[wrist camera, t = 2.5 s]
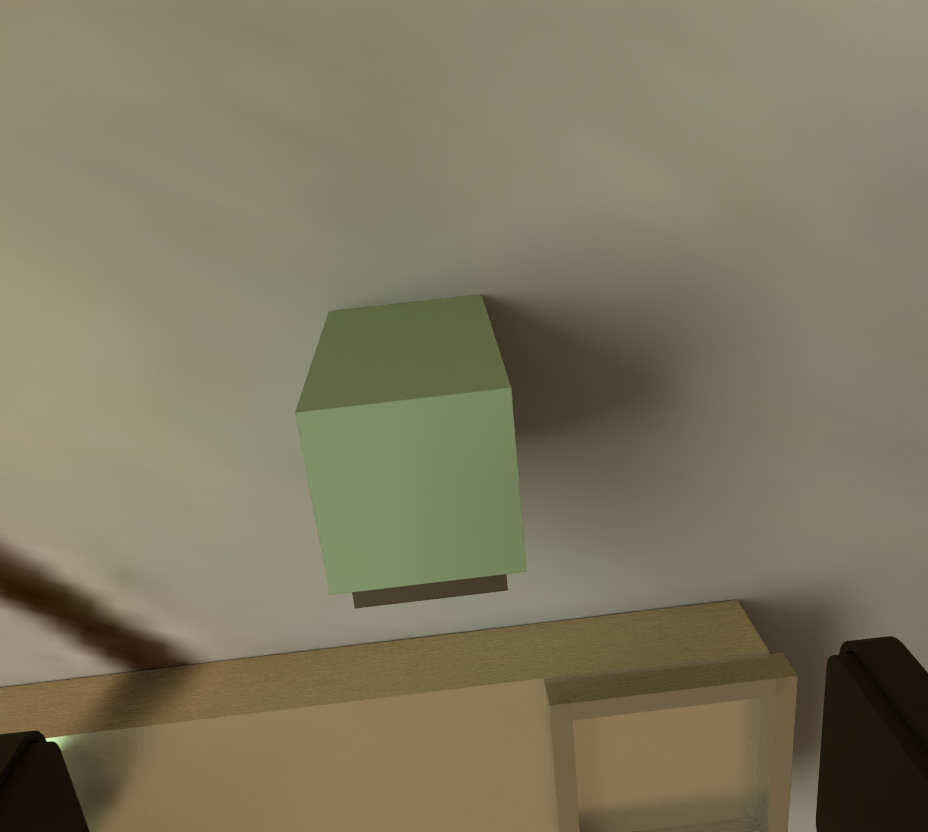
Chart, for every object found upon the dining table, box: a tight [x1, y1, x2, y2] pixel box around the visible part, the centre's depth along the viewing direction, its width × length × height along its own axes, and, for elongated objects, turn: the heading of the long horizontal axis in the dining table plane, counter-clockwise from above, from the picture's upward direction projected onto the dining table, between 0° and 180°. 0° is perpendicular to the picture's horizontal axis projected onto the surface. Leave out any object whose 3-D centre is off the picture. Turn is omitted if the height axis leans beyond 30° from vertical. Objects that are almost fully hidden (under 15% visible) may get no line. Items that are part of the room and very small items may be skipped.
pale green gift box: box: [295, 294, 527, 608], centre depth 20 cm, size 4×5×7 cm
